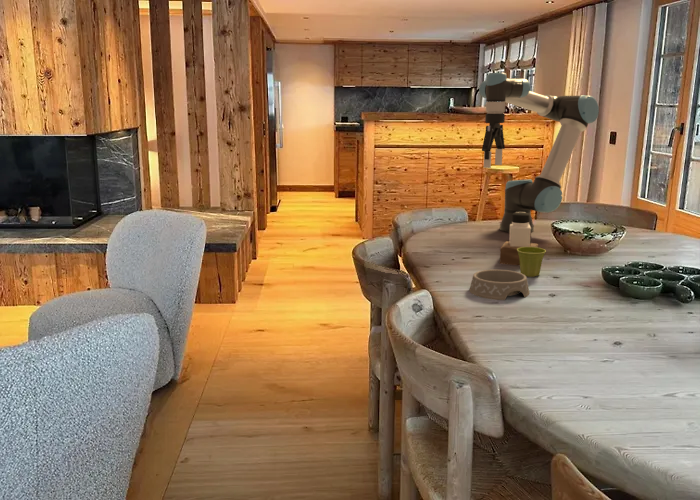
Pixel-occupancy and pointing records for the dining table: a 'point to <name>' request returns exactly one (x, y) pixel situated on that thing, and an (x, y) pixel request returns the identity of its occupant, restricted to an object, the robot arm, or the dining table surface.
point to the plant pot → (530, 260)
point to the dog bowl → (498, 284)
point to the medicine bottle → (520, 230)
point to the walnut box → (511, 254)
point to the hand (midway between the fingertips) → (492, 166)
